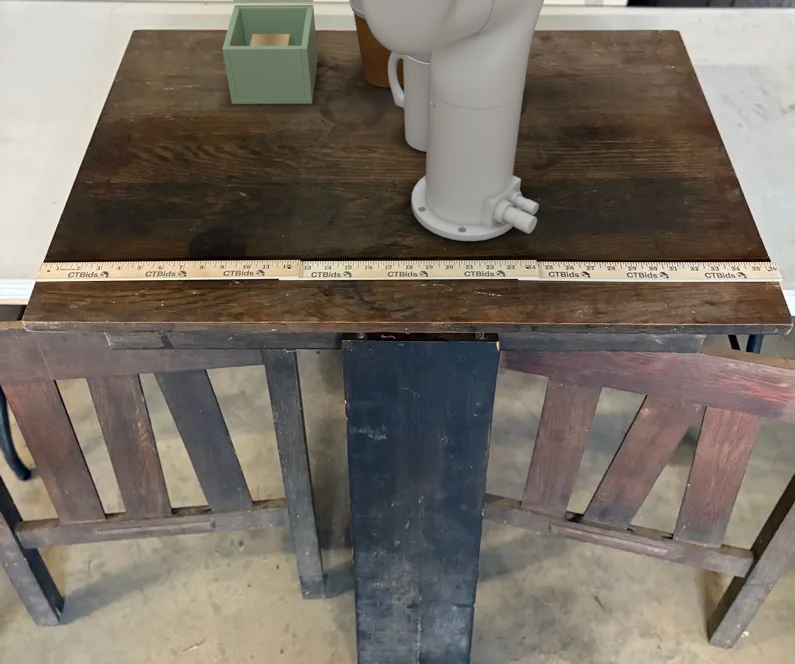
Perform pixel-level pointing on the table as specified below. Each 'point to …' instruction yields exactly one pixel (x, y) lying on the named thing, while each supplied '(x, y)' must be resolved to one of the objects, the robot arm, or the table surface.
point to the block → (270, 40)
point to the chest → (271, 55)
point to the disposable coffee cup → (373, 51)
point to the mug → (412, 95)
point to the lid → (272, 0)
